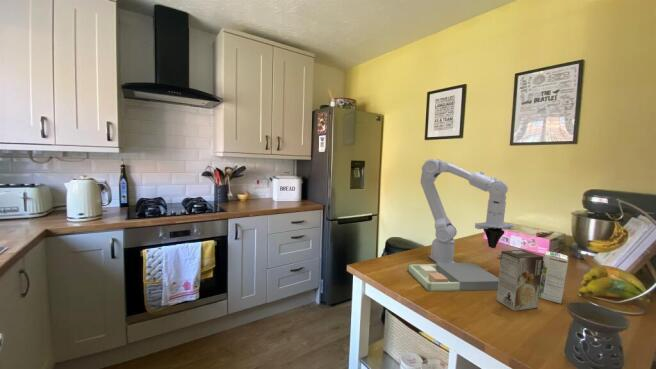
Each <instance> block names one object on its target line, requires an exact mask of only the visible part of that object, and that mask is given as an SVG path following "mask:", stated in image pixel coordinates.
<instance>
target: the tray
mask: <svg viewBox="0 0 656 369" xmlns="http://www.w3.org/2000/svg"><path fill="white" fill-rule="evenodd" d="M419 266H432V267H433V268H434V269H436V265H435V263H434V264H433V263H431V264H429V263H428V264H427V263H426V264H425V263H424V264H418V263H417V264H408V266H407V271H408V273H409V274H410V275H411V276H412V277H413V278H414V279H415V280H416V281H418V282H419V284H421V286H422V287H424V289H425V290H426V291H427V292H445V291H446V292H448V291H449V292H453V291H456V292H457V291H459V288H460V283H459V282H450V281H449V280H448V282H430V281H429V280H428V278H429V277H424V276H423V275H422V274H421V273H419ZM437 273H439V272H437Z"/></svg>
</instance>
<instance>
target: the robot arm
mask: <svg viewBox="0 0 656 369" xmlns="http://www.w3.org/2000/svg"><path fill="white" fill-rule="evenodd" d="M442 173H450V174H453V175H454V176H457V177H458V178H461V179H464V180H467V181H468V184H469V185H470V186H472V187H475V188H476V189H479V190H480V191H483V192H488V194H489V198H488V201H487V210H486V219H485V222H475V224H474V228H475V229H477V230H481V229H483V232H484V234H485V236H486V240H487V244H488V246H487V247H488V248H491V249H496V247H497V246H498V243H499V241H500V239H501V238H502V237H503V235H504V234H505V230H514V224H512V223H507V222H506V223H505V213H506V205H507V201H506V200H507V195H506V194H507V193H508V191H509V187H508V185H507V183H506V182H504V181H503V180H498V178H497V177H491V176H489V175H487V174H485V172H483V171H480V172H479V171H475V172H471V171H469V170H466V169H464V168H462V167H460V166H457V165H455V164H453V163H451V162H448V161H446V160H445V161H444V160H442V159H441V160H440V159H437V158H436V159H434V158H429V159H427V160H426V161H424V163H423V164H422V166H421V174H420V175H421V176H420V182H419V183H420V185H421V188H422V190H423V193H424V195H425V198H426V201H427V203H428V207H429V208H430V212H431V214H432V217H433V220H434V229H435V238H434V239H433V240H432V242H431V249H430V255H428V258H429V259H432V260H433V262H435V263H457V262H456V261H454V253H455V242H456V241H455V237H456V236H457V229H456V227H455V226H454V224H452V222H451V220H450V219H449V217H448V216H447V214H446V211H445V209H444V206H443V202H442V201H441V197H440V196H439V193H438V190H437V188H436V185H435V181H436V179H437V178H438V177H439V176H440V175H441V174H442Z"/></svg>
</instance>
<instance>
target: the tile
mask: <svg viewBox="0 0 656 369" xmlns="http://www.w3.org/2000/svg"><path fill="white" fill-rule="evenodd" d="M419 273H421V274H422V275H423V276H424V277H429V273H437V270H436V269H434V268H433V267H432V266H419Z"/></svg>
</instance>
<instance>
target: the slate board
mask: <svg viewBox="0 0 656 369" xmlns="http://www.w3.org/2000/svg"><path fill="white" fill-rule="evenodd" d="M434 264H435V265H436V270H437V272H439V273H441V274H442V275H444V276H445V277H446V278H447V279H448V280H449V281H450V282H459V283H460V288H459V291H460V292H461V291H496V290H497V291H498V282H499V276H498V277H497V276H496V275H494V274H493V273H491V272H489V271H488V270H486V269H484V268H482V267H481V266H479V265H478V264H475V262H456V263H437V262H435V263H434Z"/></svg>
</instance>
